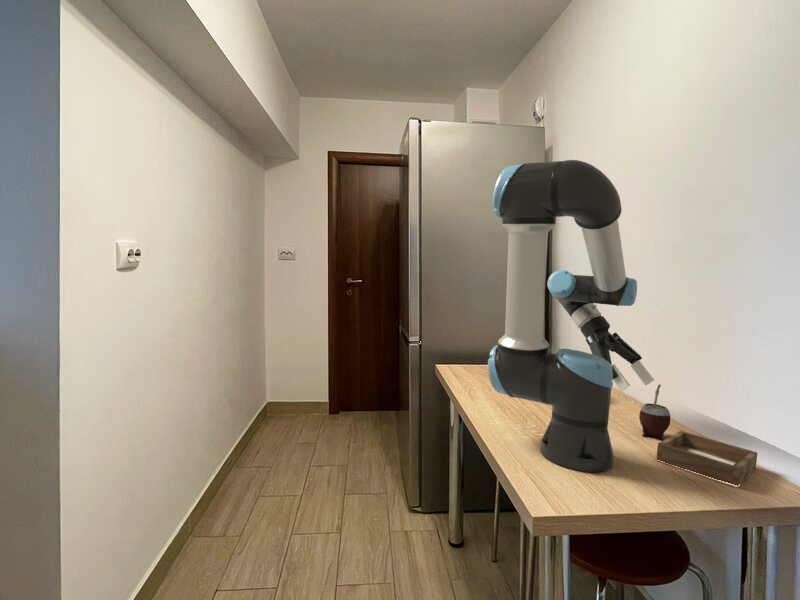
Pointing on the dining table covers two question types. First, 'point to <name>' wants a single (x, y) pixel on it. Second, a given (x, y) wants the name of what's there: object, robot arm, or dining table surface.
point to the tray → (708, 457)
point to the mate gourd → (654, 419)
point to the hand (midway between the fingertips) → (638, 385)
